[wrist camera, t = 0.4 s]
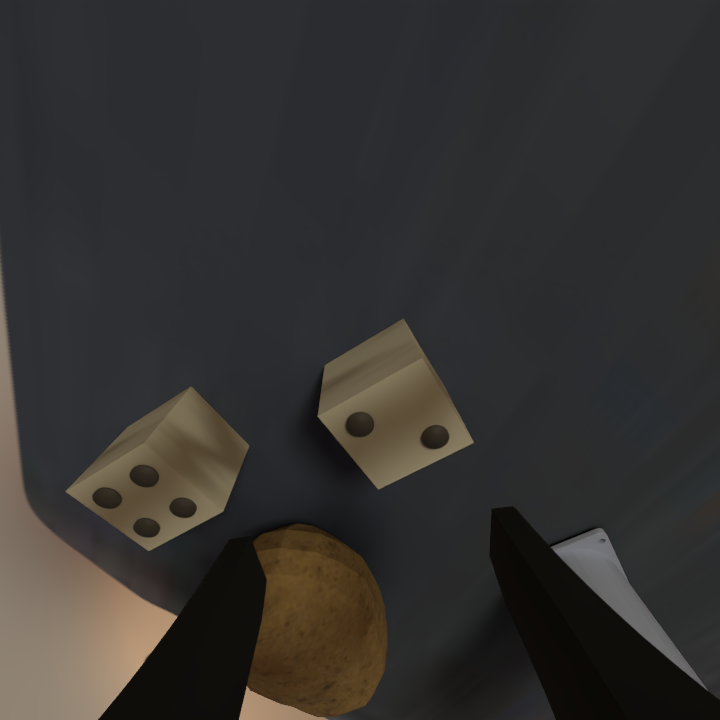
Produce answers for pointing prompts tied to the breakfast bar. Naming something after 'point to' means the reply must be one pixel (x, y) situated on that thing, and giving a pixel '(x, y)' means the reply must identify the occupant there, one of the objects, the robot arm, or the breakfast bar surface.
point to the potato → (317, 624)
